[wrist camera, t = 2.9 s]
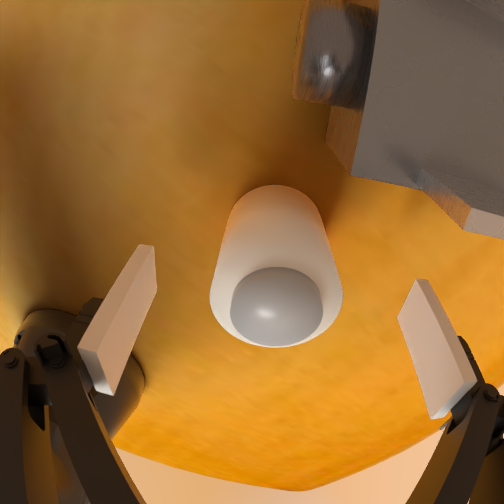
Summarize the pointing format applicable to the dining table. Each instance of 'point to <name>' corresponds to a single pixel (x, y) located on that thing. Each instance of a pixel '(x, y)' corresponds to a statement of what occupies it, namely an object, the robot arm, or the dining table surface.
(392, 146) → the motor
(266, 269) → the white cylindrical container
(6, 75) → the dining table surface
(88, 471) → the robot arm
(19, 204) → the dining table surface
